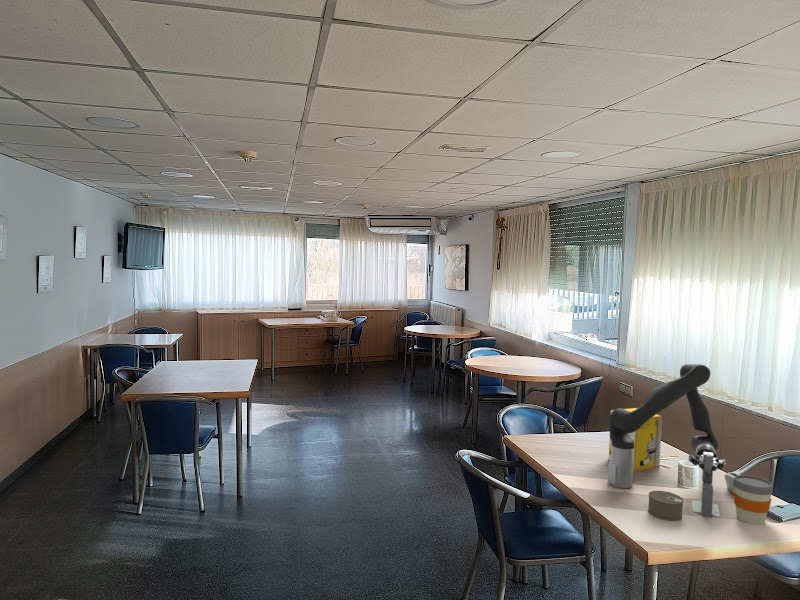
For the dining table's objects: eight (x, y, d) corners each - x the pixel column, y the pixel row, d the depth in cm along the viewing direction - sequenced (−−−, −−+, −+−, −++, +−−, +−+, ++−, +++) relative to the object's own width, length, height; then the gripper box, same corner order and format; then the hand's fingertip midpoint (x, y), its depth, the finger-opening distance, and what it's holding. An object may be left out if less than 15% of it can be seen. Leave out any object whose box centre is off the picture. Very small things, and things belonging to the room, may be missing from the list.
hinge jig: (692, 500, 216) (693, 474, 216) (717, 505, 212) (719, 478, 212) (693, 513, 204) (694, 486, 203) (720, 519, 200) (721, 491, 199)
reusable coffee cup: (756, 529, 192) (759, 489, 191) (723, 515, 204) (726, 477, 203) (778, 524, 197) (780, 485, 196) (744, 510, 209) (747, 473, 208)
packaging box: (659, 467, 254) (662, 416, 253) (633, 471, 248) (636, 418, 247) (633, 455, 269) (635, 407, 268) (608, 459, 263) (610, 410, 262)
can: (651, 504, 212) (652, 487, 211) (685, 513, 204) (686, 496, 204) (644, 514, 202) (645, 497, 202) (678, 524, 195) (679, 506, 194)
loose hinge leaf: (711, 479, 212) (712, 452, 211) (712, 485, 207) (713, 457, 206) (701, 478, 214) (703, 451, 213) (702, 483, 208) (703, 456, 207)
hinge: (763, 504, 214) (756, 481, 213) (752, 508, 214) (744, 485, 214) (738, 488, 230) (732, 466, 230) (728, 491, 231) (721, 469, 230)
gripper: (687, 443, 226) (688, 455, 211) (726, 448, 219) (729, 461, 204) (686, 460, 227) (687, 473, 211) (725, 466, 220) (728, 480, 205)
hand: (708, 467), depth 208 cm, fingers closed on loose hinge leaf, 3 cm apart
